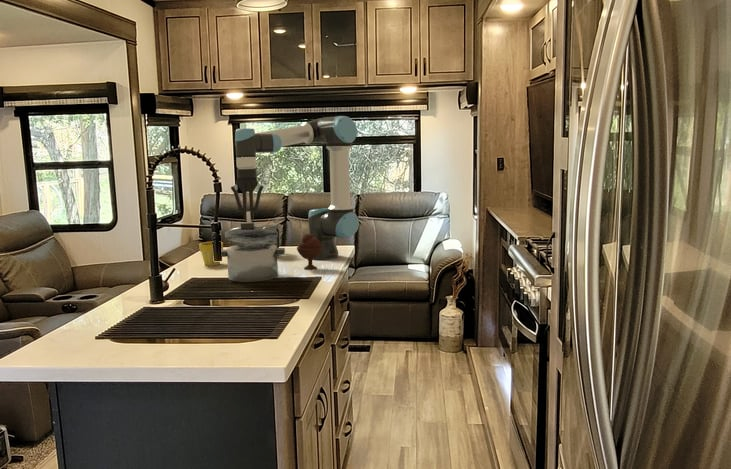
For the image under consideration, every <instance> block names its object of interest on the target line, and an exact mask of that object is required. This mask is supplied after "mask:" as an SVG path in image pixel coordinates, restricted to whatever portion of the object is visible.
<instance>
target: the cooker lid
mask: <svg viewBox="0 0 731 469" xmlns="http://www.w3.org/2000/svg"><path fill="white" fill-rule="evenodd" d="M255 225H256V224H255V223H254V222H251V223H247V222H246V223H244V222H243V223H240V227H235V228H231V229H227V230H226V231H225V233H224V238H225V239H226V240H228V241H230V242H234V243H236V245H242V244H256V243H262V242H265V243H269V242H273V240H275V239H277V237H278V232H277V231H275V230H273V229H270V228H269V227H258V226H255Z"/></svg>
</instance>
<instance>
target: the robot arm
mask: <svg viewBox="0 0 731 469" xmlns="http://www.w3.org/2000/svg"><path fill="white" fill-rule="evenodd" d="M234 132H235V135H234V137H235V138H234V141H235V142H234V146H235V156H236V158H235V159H236V160H235V162H236V168H237V169H236V176H237V177H236V183H235V185H232V186H231V187H230V189H231V192H233V194H234V197H235V201H236V204H237V207H238V208H237V209H238V210H239V211H242V212H243V220H245V221H246V223H252V220H254V219H255V211H257V210H258V209H259V207H260V201H261V196H262V191H263V190H264V188H265V186H264V185H262V184H260V183H259V181H258V179H257V176H258V175H257V169H256V167H257V160H256V158H257V155H256V154H266V153H268V154H269V153H271V154H274V153H278V152H280V151H281V149H282V147H287V146H291V145H298V144H303V143H304V144H307V145H310V144H317V143H318V144H325V149H327V150H329V174H330V175H329V176H330V177H329V181H330V182H329V184H330V185H329V186H330V205H329V206H328V207H326V208H315V209H310V210H309V211H308V218H307V219H308V220H307V221H308V234H311V235H313V236H314V238H317V239H318V240H319V241H320V243H321V246H322V247H323V248H322V252H321V253H320V255H319V256H318V257H316V258H314V259H313V260H317V261H318V260H319V261H320V260H321V261H322V260H330V259H331V260H332V259H336V258H338V257H339V250H338V247H337V245H336V242H335V238H340V239H349V238H352V237H353V236H354V235H355V233H357V231H359V230H358V229H359V226H360V219H359V217H358V216H357V214H356V213H354V207H353V205H351V198H350V197H351V195H350V194H351V191H350V190H351V189H350V185H351V184H350V153H349V152H350V150H351V148H353V142H354V141H355V140H356V138H357V136H358V128H357V125H356V123H355V121H353V119H352V118H351V117H349V116H346V115H339V116H338V115H336V116H325V117H324V116H323V117H322V118H321V117H320V118H317V119H313V120H309V121H307V122H303V123H301V124H300V125H296V126H290V127H285V128H279V129H273V130H268V131H262V132H261V131H260V132H255V129H254V128H247V127H245V128H237V129H236V130H235V131H234ZM255 189H257V192H256V193H257V194H256V199H255V202H254V191H255ZM238 190H240V191H241V192H242V193H241V194H242V202H241V198H240V195H239V193H238ZM247 194H248V198H249V210H248V203H247V202H248V198H247Z"/></svg>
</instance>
